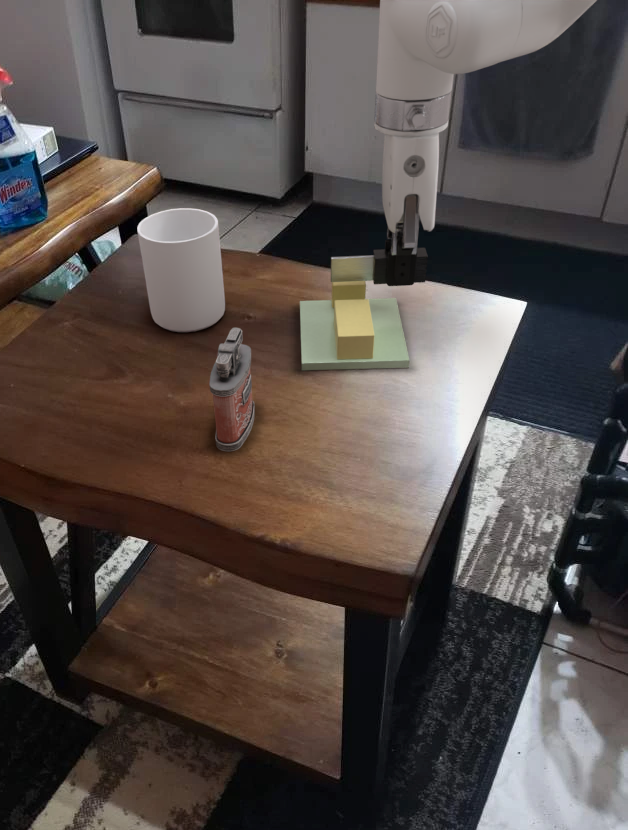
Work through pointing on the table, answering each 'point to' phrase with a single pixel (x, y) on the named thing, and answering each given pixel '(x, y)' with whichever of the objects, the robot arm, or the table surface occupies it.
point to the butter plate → (322, 344)
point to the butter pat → (348, 290)
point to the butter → (353, 329)
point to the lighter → (232, 392)
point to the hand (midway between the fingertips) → (398, 277)
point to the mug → (182, 268)
